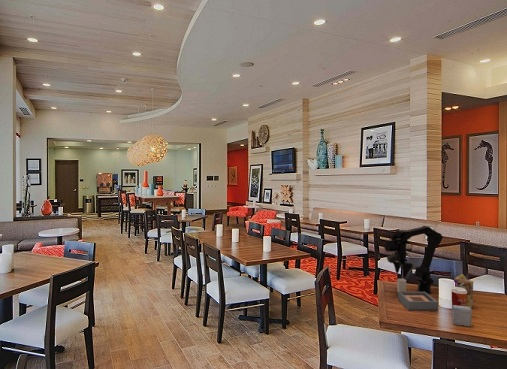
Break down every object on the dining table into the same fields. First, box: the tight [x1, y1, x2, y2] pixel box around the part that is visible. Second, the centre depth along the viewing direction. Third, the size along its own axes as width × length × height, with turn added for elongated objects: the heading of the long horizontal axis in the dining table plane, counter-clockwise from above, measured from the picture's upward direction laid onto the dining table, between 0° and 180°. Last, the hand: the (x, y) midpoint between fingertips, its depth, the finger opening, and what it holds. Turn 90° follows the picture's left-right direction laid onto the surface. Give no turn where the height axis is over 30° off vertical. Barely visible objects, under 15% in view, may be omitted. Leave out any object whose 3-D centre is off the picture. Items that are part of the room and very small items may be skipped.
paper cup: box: [450, 286, 467, 306], centre depth 188 cm, size 8×8×14 cm
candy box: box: [453, 277, 474, 309], centre depth 199 cm, size 9×4×15 cm, turn 39°
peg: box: [396, 278, 407, 294], centre depth 218 cm, size 4×4×9 cm
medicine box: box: [451, 304, 473, 327], centre depth 176 cm, size 8×4×9 cm, turn 71°
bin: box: [397, 291, 439, 312], centre depth 200 cm, size 16×16×5 cm
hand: (400, 275), depth 217 cm, fingers open, 9 cm apart
